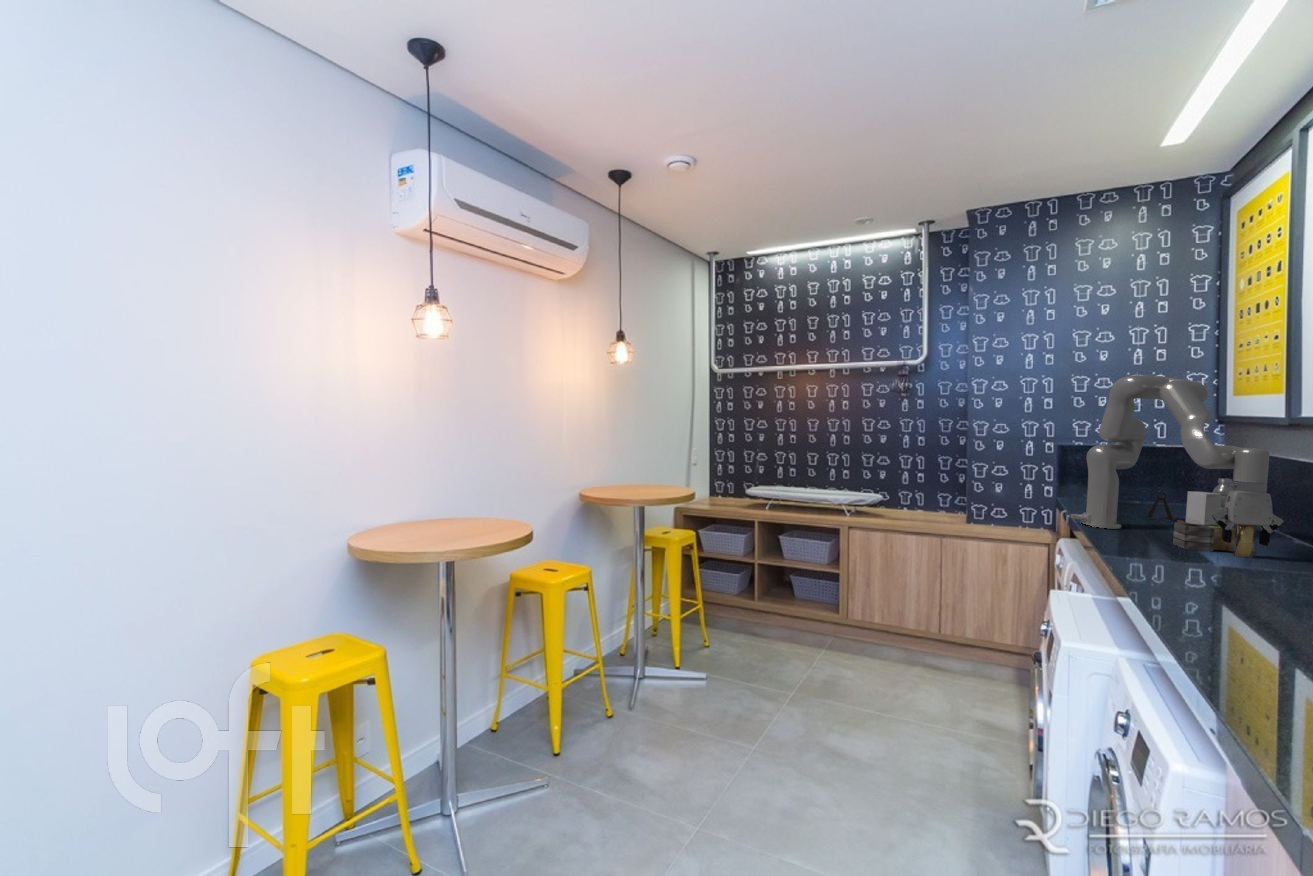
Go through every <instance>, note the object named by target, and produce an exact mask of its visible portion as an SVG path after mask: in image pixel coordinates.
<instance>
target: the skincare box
mask: <svg viewBox="0 0 1313 876" xmlns="http://www.w3.org/2000/svg"><path fill="white" fill-rule="evenodd" d="M1186 499H1187V500H1186V509H1185V510H1186V513H1185V522H1188V523H1190V524H1203V525H1206V526H1213V527H1219V525H1218V524H1217V523H1216V521H1215V520H1214V519H1213V517H1212V515H1213V514H1215V513H1217V512H1220V507H1221V494H1219V493H1213V492H1206V491H1189V490H1188V491H1187V497H1186Z"/></svg>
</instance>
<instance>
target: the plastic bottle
mask: <svg viewBox="0 0 1313 876" xmlns="http://www.w3.org/2000/svg"><path fill="white" fill-rule="evenodd" d="M1232 481H1233V478H1226V477H1225V478H1222V477H1219V478H1218V479H1217V484H1218V485H1216V486H1215V487H1214V489H1213V491H1212V493H1219V494H1221V507H1220V511H1222V510H1224V509H1225V504H1226V500H1227V497H1228V494H1229V491H1232V488H1231V487H1227V484H1228V483H1232ZM1220 519H1221V520H1222V521H1223V522H1225V521H1226V520H1225V519H1224V516H1222V517H1220ZM1234 526H1235V524H1234V525H1233V526H1232V527H1231V528H1233V529H1234ZM1219 527H1220V526H1219Z"/></svg>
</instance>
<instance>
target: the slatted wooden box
mask: <svg viewBox="0 0 1313 876" xmlns="http://www.w3.org/2000/svg"><path fill="white" fill-rule="evenodd" d="M1173 523H1174V524H1173V526H1174V527H1173V531H1178V532H1181V533H1183V534H1190V535H1202V536H1214V532H1215V529H1214V528H1211V527H1208V526H1206V525H1203V524H1190V523H1188V522H1186V520H1185V521H1184V520H1182V519H1177V520H1176V521H1174V522H1173ZM1172 539H1173V540H1172V545H1173V544H1174V545H1173V546H1175V545H1177V546H1178V547H1177V546H1176V547H1177V548H1180V547H1181V548H1180V549H1182V548H1183V550H1185V549H1186V551H1187V550H1188V551H1197V550H1199V551H1200V552H1208V551H1210V553H1212V552H1214V549H1213V545H1214V544H1212V543H1205V542H1192V541H1184V540H1181V539H1179V538H1176V537H1174V536H1173V538H1172ZM1199 551H1198V552H1199Z"/></svg>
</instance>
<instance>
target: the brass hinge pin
mask: <svg viewBox="0 0 1313 876" xmlns="http://www.w3.org/2000/svg"><path fill="white" fill-rule="evenodd" d="M1255 535H1256V525H1243V524H1236V534H1235V546H1234V556H1236V557H1238V556H1241V557H1240V558H1244V557H1253V558H1254V548H1255V538H1256V537H1255Z"/></svg>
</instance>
